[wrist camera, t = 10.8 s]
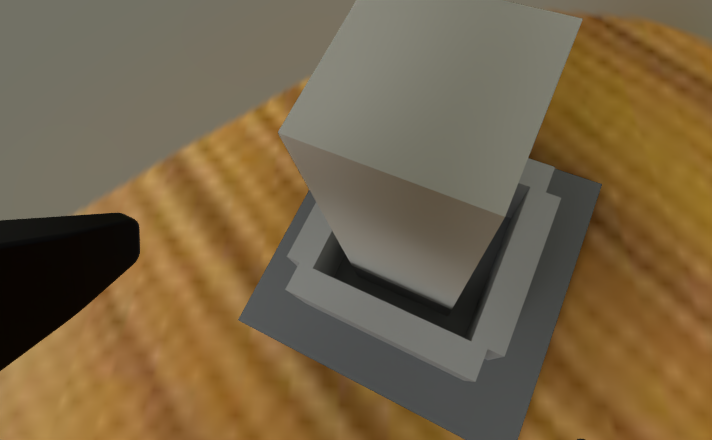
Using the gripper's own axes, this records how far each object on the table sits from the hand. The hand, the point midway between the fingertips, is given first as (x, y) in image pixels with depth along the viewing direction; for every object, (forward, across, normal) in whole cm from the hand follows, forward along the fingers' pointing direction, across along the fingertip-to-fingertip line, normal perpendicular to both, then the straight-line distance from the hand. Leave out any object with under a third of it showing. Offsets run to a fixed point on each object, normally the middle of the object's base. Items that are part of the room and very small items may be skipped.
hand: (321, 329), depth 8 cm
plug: (+12, 0, +4) cm, 13 cm away
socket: (+13, 0, +5) cm, 14 cm away
